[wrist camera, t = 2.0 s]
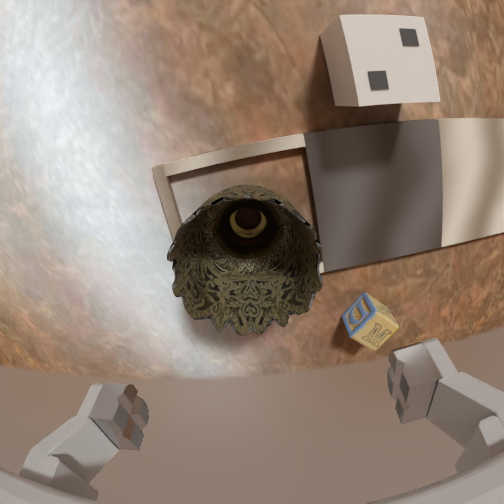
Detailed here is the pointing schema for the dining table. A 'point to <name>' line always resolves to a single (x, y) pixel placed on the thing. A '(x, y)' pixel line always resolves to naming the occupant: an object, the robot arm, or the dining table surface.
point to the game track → (385, 185)
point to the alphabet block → (369, 322)
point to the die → (379, 60)
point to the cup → (246, 261)
